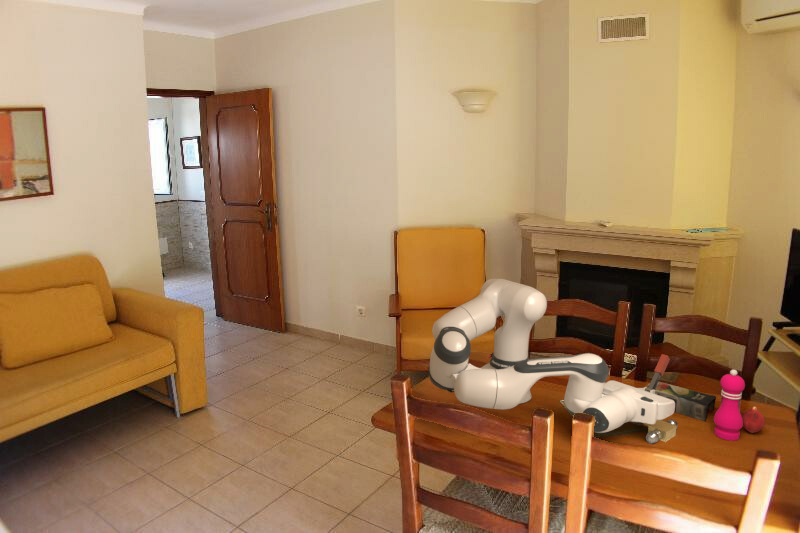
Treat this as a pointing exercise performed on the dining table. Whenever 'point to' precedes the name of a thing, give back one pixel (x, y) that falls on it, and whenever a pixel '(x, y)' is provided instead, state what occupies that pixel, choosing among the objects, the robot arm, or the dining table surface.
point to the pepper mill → (729, 407)
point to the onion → (753, 420)
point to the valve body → (661, 430)
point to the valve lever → (658, 374)
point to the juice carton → (687, 400)
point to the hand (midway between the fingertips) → (650, 390)
